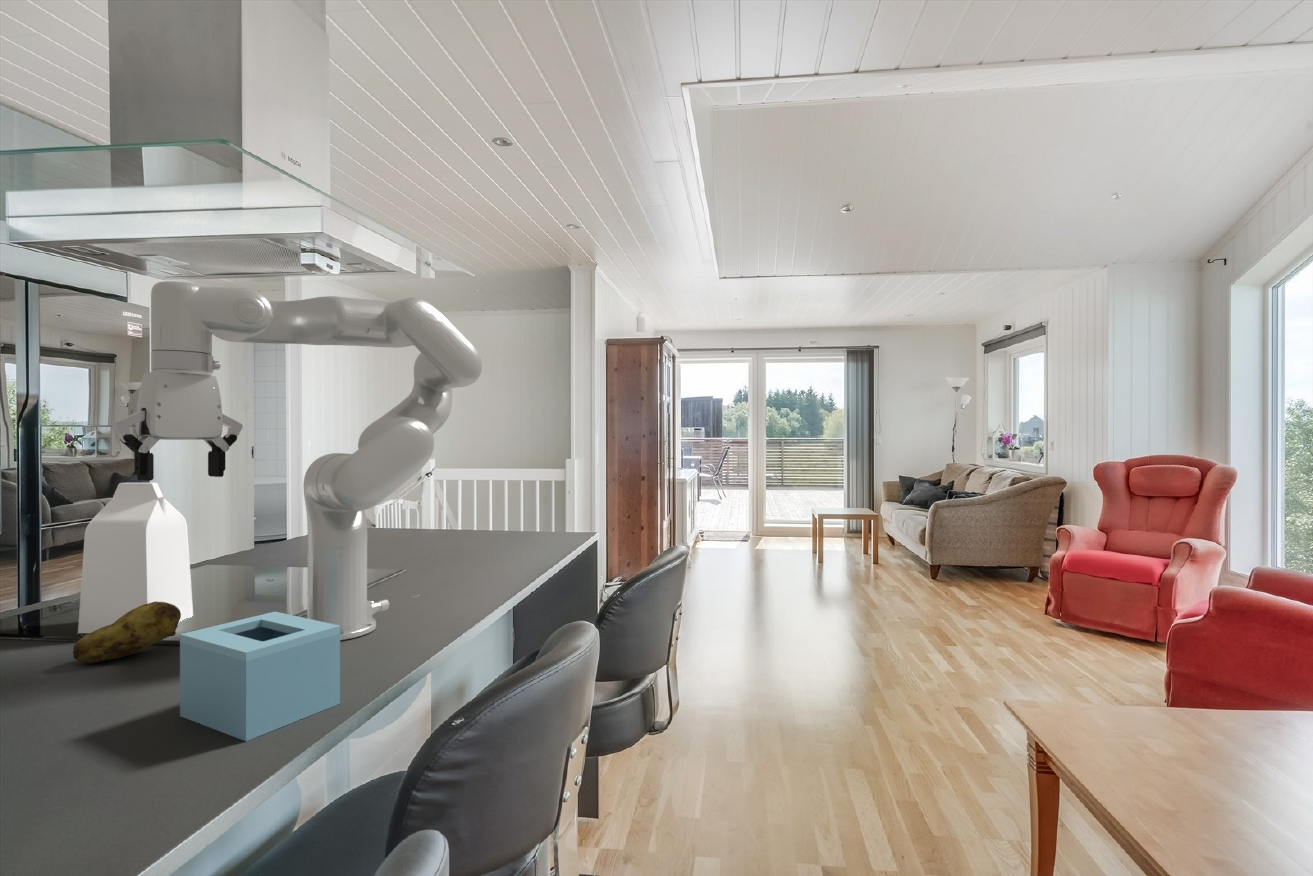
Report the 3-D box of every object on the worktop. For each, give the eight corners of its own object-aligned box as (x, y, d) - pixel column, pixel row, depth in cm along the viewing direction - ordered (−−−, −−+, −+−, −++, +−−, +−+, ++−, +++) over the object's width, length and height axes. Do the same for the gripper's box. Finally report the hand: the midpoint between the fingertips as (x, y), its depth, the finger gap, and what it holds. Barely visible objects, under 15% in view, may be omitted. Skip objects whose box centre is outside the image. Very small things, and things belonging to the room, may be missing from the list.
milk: (77, 635, 114) (77, 485, 114) (129, 616, 125) (129, 480, 125) (147, 635, 114) (147, 485, 114) (193, 616, 126) (193, 480, 125)
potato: (83, 655, 104) (83, 604, 104) (183, 642, 110) (183, 595, 110) (68, 672, 97) (68, 617, 96) (176, 657, 103) (176, 606, 103)
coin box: (274, 683, 92) (274, 611, 92) (340, 703, 86) (340, 625, 86) (180, 716, 82) (180, 634, 82) (246, 741, 75) (246, 652, 75)
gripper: (227, 371, 109) (227, 474, 109) (100, 361, 94) (100, 480, 94) (254, 369, 106) (254, 476, 106) (127, 358, 90) (127, 483, 90)
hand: (182, 478), depth 100 cm, fingers open, 9 cm apart
